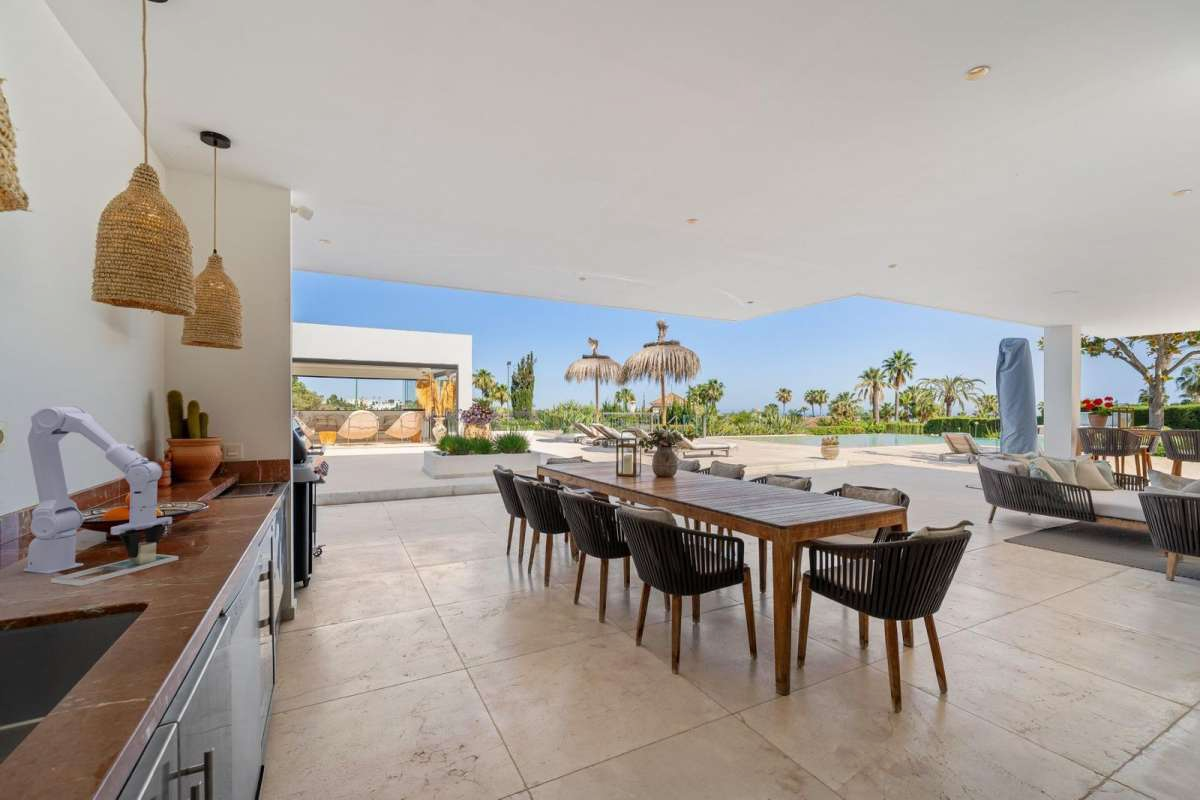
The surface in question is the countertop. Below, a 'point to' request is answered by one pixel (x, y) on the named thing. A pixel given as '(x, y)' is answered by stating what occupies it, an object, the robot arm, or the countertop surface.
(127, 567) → the rail frame
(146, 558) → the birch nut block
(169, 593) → the countertop surface
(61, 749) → the countertop surface
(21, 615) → the countertop surface
